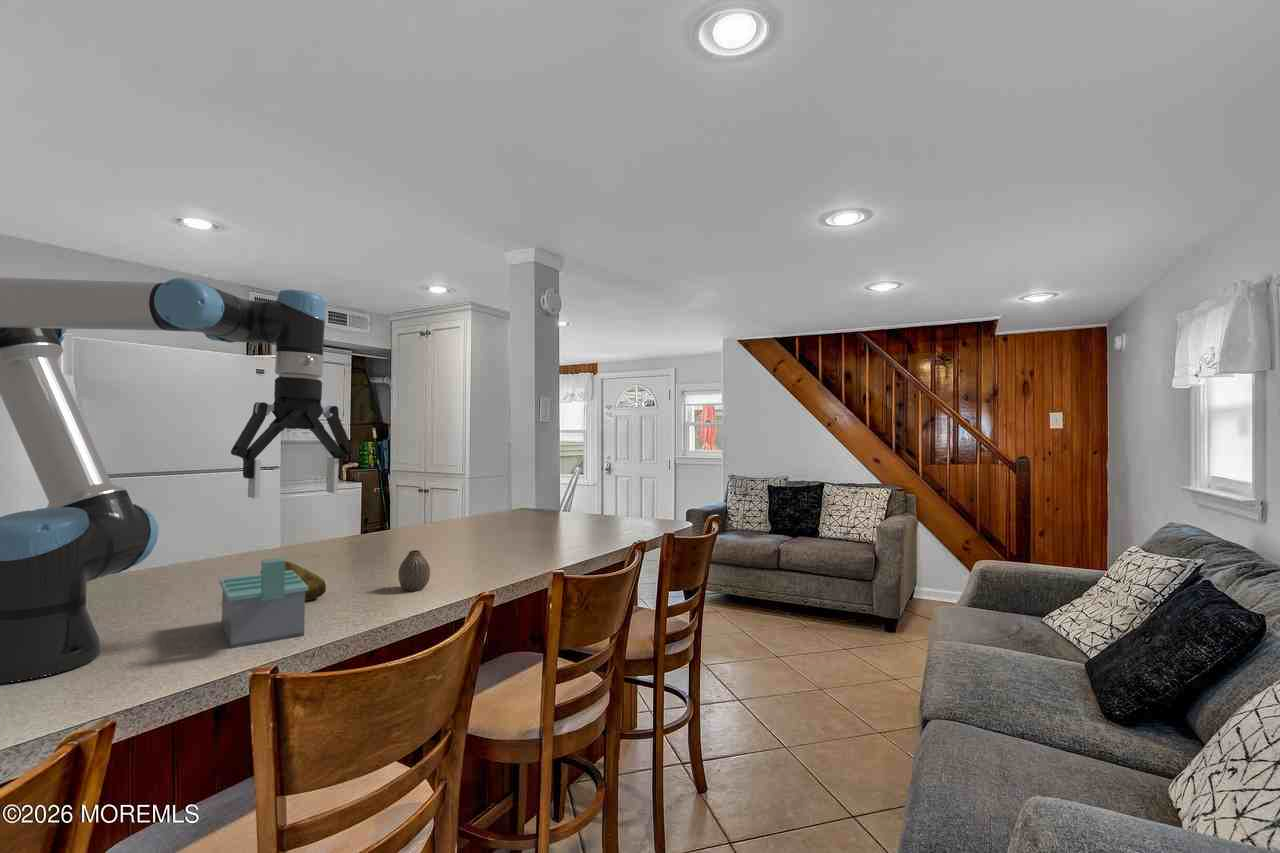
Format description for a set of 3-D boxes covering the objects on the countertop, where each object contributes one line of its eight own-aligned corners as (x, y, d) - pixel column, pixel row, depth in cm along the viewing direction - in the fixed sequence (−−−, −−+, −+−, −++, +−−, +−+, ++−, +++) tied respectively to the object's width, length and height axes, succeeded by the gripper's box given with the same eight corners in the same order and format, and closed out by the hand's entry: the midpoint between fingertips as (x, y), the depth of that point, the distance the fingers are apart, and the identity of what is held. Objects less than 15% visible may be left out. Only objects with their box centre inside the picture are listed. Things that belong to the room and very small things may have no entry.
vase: (434, 585, 147) (435, 548, 147) (421, 593, 140) (422, 554, 140) (406, 584, 147) (407, 547, 147) (392, 592, 140) (393, 553, 140)
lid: (231, 607, 100) (232, 566, 100) (219, 582, 116) (220, 546, 116) (313, 595, 108) (314, 557, 108) (292, 573, 123) (292, 540, 123)
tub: (230, 648, 104) (231, 600, 104) (221, 624, 116) (222, 582, 116) (304, 635, 111) (305, 590, 111) (288, 614, 123) (289, 574, 123)
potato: (298, 607, 127) (299, 568, 127) (251, 601, 131) (252, 563, 131) (330, 597, 135) (331, 560, 135) (285, 591, 139) (286, 556, 139)
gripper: (230, 370, 100) (225, 502, 100) (374, 382, 120) (370, 492, 120) (211, 371, 104) (206, 497, 104) (354, 383, 125) (350, 489, 124)
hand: (294, 495), depth 112 cm, fingers open, 13 cm apart
